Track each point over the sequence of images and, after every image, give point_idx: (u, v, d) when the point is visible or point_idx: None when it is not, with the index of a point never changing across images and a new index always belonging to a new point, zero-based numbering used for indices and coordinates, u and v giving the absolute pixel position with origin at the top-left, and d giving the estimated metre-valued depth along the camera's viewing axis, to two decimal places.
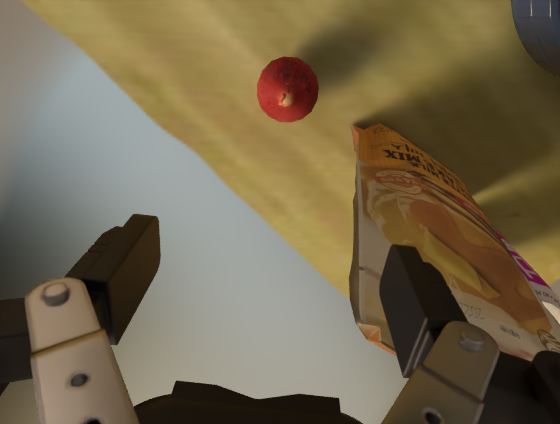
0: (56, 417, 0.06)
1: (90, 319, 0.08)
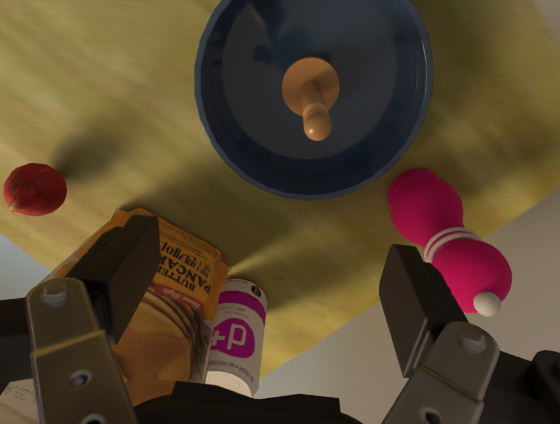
0: (56, 417, 0.06)
1: (90, 319, 0.08)
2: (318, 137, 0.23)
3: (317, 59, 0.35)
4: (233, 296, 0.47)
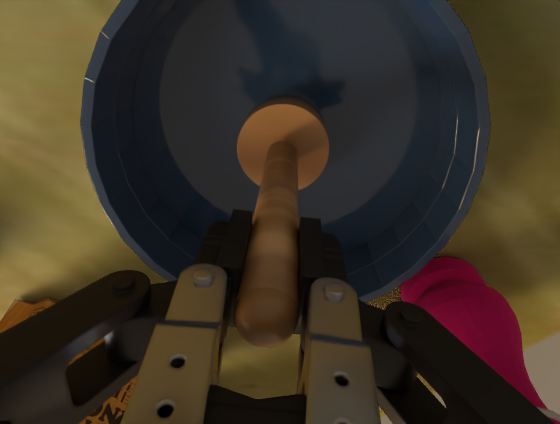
0: (147, 386, 0.06)
1: (216, 310, 0.08)
2: (265, 346, 0.10)
3: (293, 107, 0.21)
4: None
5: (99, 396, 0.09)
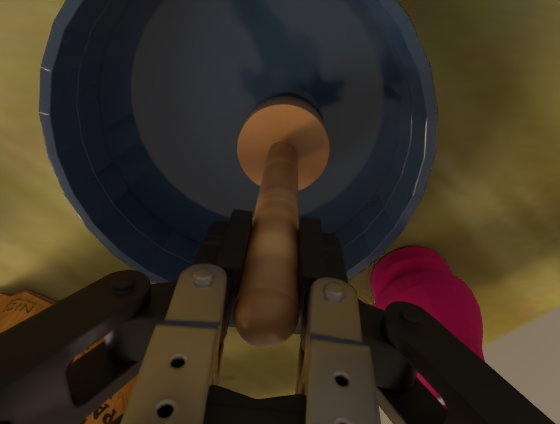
0: (147, 386, 0.06)
1: (216, 310, 0.08)
2: (265, 347, 0.10)
3: (293, 107, 0.21)
4: None
5: (100, 396, 0.09)
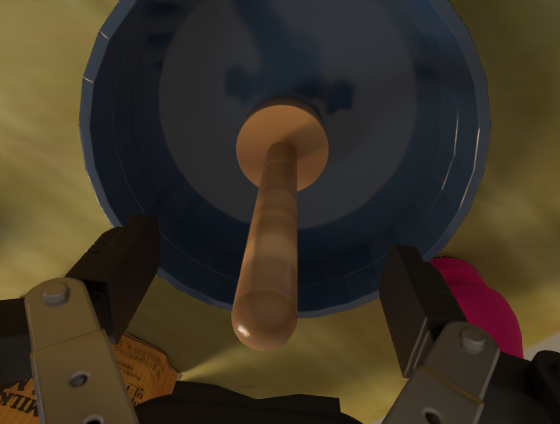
0: (56, 417, 0.06)
1: (90, 319, 0.08)
2: (263, 349, 0.10)
3: (292, 108, 0.21)
4: None
5: None
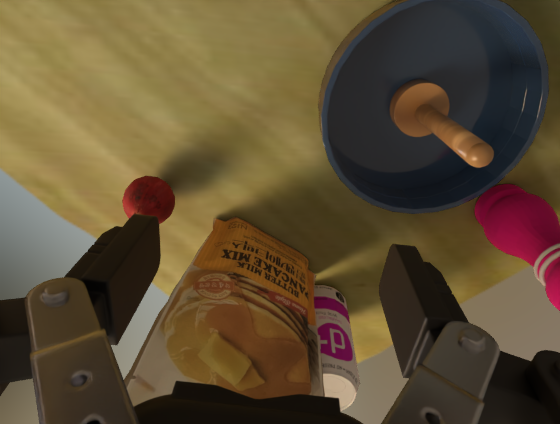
0: (56, 417, 0.06)
1: (90, 319, 0.08)
2: (482, 165, 0.26)
3: (432, 84, 0.38)
4: (323, 302, 0.50)
5: None
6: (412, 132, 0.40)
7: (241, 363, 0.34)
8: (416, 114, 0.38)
